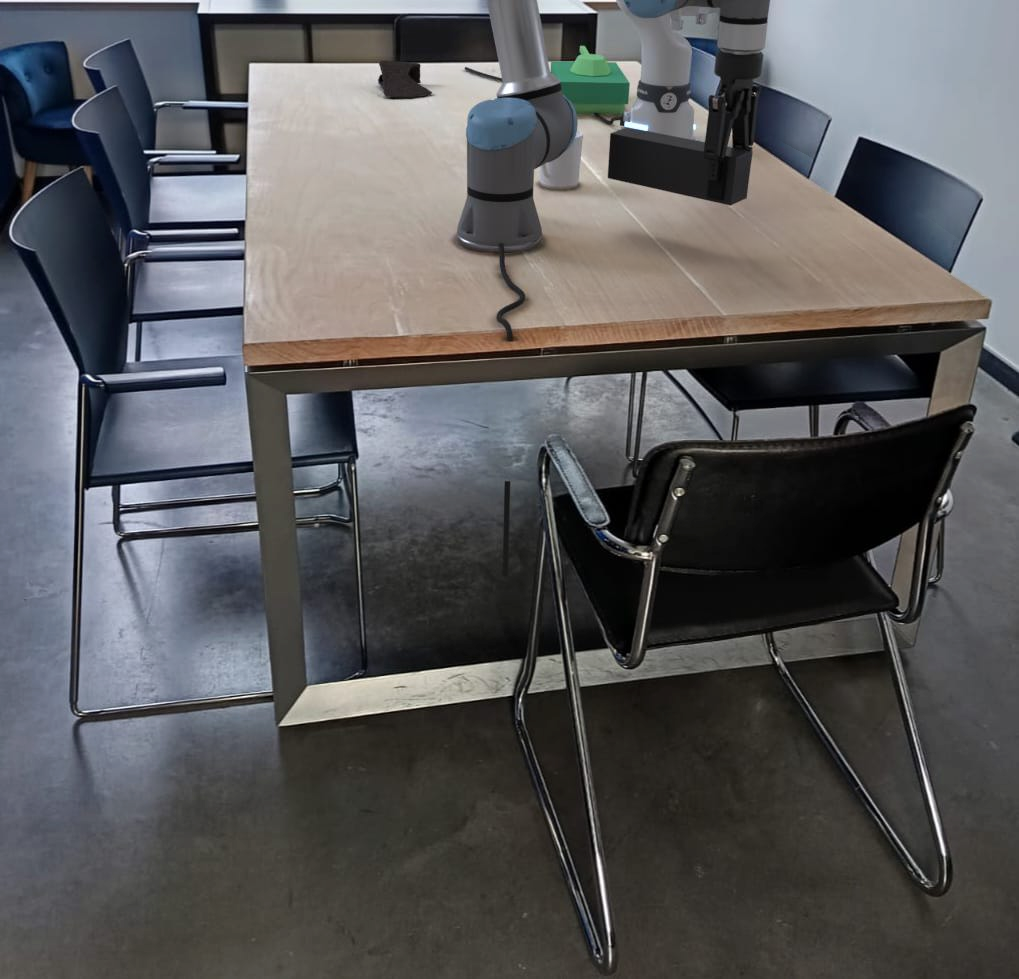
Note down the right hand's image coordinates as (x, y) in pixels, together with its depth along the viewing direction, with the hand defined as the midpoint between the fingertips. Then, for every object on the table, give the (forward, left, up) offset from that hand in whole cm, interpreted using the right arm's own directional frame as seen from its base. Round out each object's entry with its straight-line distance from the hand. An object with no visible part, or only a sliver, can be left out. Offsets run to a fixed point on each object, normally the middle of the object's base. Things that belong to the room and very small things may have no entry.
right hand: (688, 27), depth 208 cm
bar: (+32, -7, -22) cm, 39 cm away
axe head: (-95, -55, -31) cm, 114 cm away
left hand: (+38, -1, -21) cm, 44 cm away
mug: (-4, -24, -31) cm, 40 cm away
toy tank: (-81, -6, -31) cm, 87 cm away
